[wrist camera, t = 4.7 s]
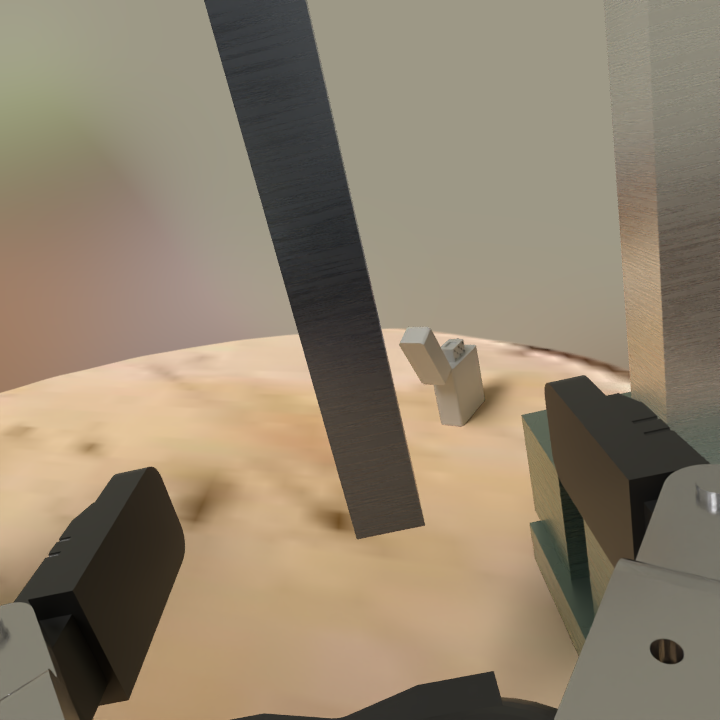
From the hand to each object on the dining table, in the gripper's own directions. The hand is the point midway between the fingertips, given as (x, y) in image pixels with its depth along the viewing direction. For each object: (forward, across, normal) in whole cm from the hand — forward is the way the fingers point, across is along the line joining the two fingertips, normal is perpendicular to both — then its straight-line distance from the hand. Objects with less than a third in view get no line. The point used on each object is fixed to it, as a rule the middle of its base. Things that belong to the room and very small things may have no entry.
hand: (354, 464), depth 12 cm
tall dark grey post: (+7, 0, +4) cm, 8 cm away
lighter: (+26, -4, +14) cm, 30 cm away
